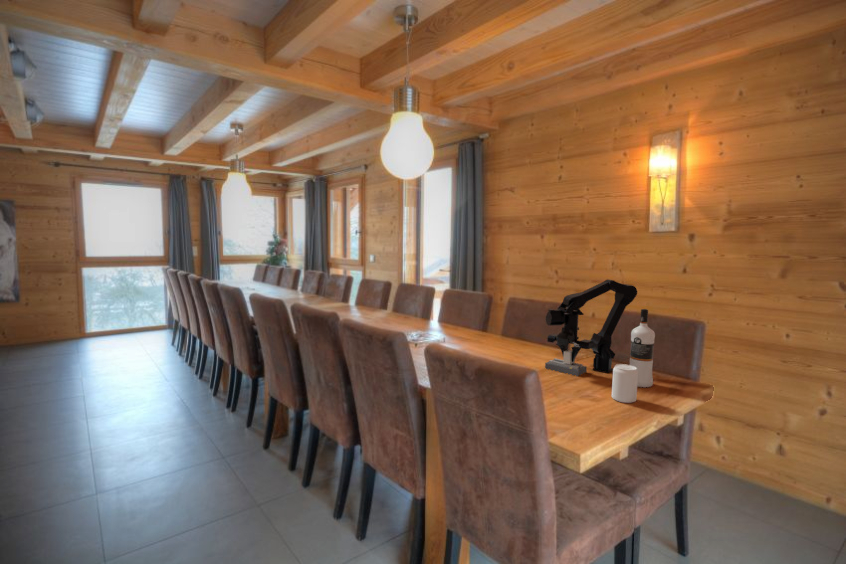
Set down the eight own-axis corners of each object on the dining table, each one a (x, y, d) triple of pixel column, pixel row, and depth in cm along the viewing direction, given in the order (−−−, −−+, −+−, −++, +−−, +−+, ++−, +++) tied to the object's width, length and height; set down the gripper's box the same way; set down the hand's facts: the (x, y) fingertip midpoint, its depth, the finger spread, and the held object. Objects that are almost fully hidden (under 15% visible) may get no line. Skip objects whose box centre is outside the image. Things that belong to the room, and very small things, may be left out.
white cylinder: (637, 405, 155) (639, 371, 154) (612, 402, 158) (614, 368, 156) (634, 397, 163) (636, 365, 162) (610, 394, 165) (612, 362, 164)
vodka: (657, 386, 175) (663, 310, 172) (642, 389, 171) (647, 311, 168) (636, 379, 184) (641, 306, 180) (621, 382, 179) (626, 308, 176)
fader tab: (574, 364, 194) (575, 350, 193) (569, 367, 190) (570, 352, 190) (567, 363, 196) (568, 349, 195) (563, 365, 192) (563, 351, 192)
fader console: (586, 372, 192) (586, 364, 192) (577, 376, 186) (578, 368, 186) (554, 364, 202) (554, 357, 202) (545, 368, 197) (545, 360, 196)
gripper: (541, 324, 192) (539, 359, 194) (583, 331, 179) (581, 369, 181) (554, 320, 200) (552, 355, 201) (595, 327, 187) (593, 364, 188)
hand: (568, 360), depth 193 cm, fingers closed on fader tab, 3 cm apart
